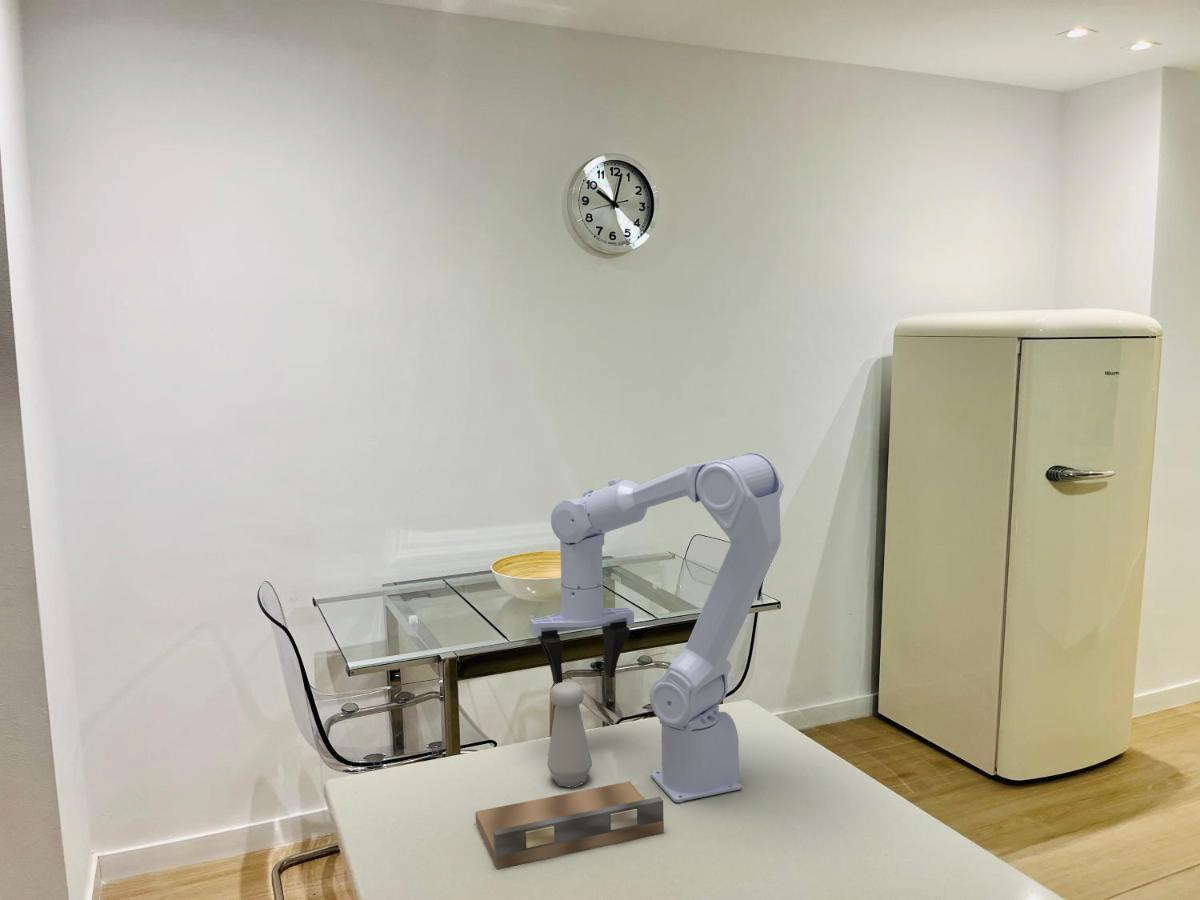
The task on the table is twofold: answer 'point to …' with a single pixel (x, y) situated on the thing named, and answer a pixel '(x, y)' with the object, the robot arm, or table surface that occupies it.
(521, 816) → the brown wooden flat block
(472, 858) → the table surface
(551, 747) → the salt shaker
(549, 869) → the table surface
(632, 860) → the table surface
